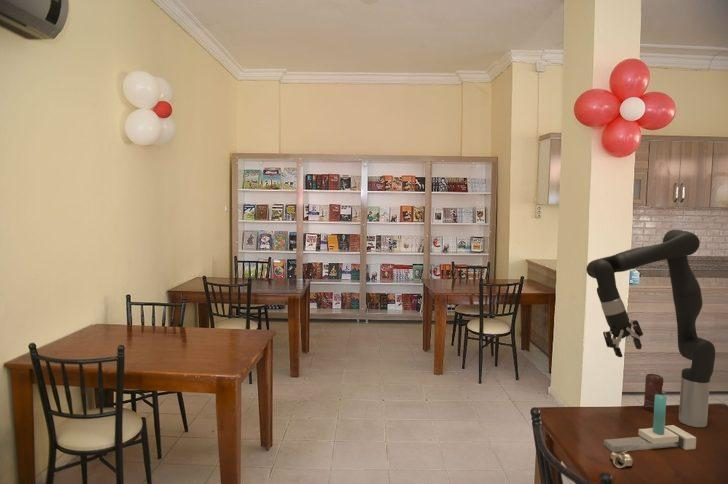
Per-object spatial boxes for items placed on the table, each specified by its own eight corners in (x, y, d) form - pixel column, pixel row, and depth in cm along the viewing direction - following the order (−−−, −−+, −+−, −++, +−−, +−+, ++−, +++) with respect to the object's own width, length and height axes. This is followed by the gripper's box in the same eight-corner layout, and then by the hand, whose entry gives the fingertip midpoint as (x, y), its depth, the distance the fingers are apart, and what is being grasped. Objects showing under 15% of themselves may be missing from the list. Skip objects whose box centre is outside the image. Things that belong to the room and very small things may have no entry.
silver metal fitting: (616, 456, 171) (617, 445, 171) (637, 464, 166) (638, 453, 165) (604, 463, 166) (604, 452, 166) (625, 472, 161) (626, 461, 161)
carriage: (662, 432, 184) (665, 391, 182) (678, 441, 177) (681, 399, 176) (638, 434, 182) (640, 393, 181) (652, 443, 175) (655, 401, 174)
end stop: (672, 435, 186) (673, 425, 186) (695, 448, 177) (696, 437, 176) (661, 436, 185) (662, 425, 185) (684, 449, 176) (684, 438, 175)
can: (663, 412, 207) (666, 379, 206) (646, 411, 208) (648, 377, 207) (658, 407, 213) (660, 374, 211) (641, 405, 214) (643, 372, 213)
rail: (667, 439, 183) (667, 434, 183) (678, 446, 178) (678, 440, 178) (603, 445, 178) (603, 439, 178) (613, 452, 173) (613, 446, 173)
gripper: (605, 318, 186) (620, 360, 185) (637, 304, 189) (652, 347, 188) (592, 317, 193) (607, 358, 192) (623, 304, 196) (638, 345, 195)
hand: (629, 352), depth 190 cm, fingers open, 8 cm apart
